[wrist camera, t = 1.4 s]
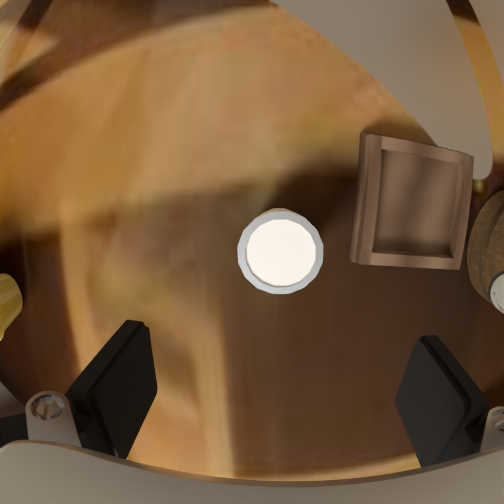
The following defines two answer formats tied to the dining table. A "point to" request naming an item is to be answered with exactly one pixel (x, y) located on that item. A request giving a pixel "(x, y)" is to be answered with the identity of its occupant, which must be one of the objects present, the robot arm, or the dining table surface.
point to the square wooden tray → (410, 204)
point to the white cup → (280, 251)
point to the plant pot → (8, 301)
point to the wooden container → (488, 251)
